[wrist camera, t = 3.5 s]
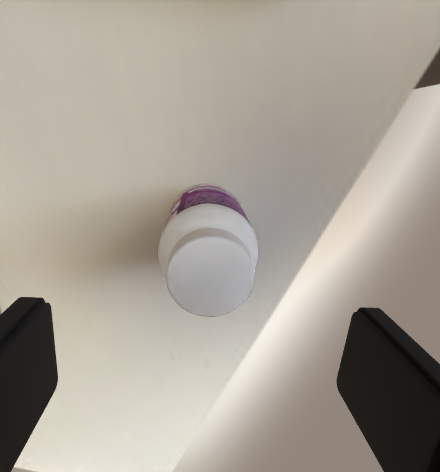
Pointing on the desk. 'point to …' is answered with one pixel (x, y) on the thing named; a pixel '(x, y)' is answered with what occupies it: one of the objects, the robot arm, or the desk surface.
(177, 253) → the pill bottle
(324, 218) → the desk surface
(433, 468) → the robot arm
